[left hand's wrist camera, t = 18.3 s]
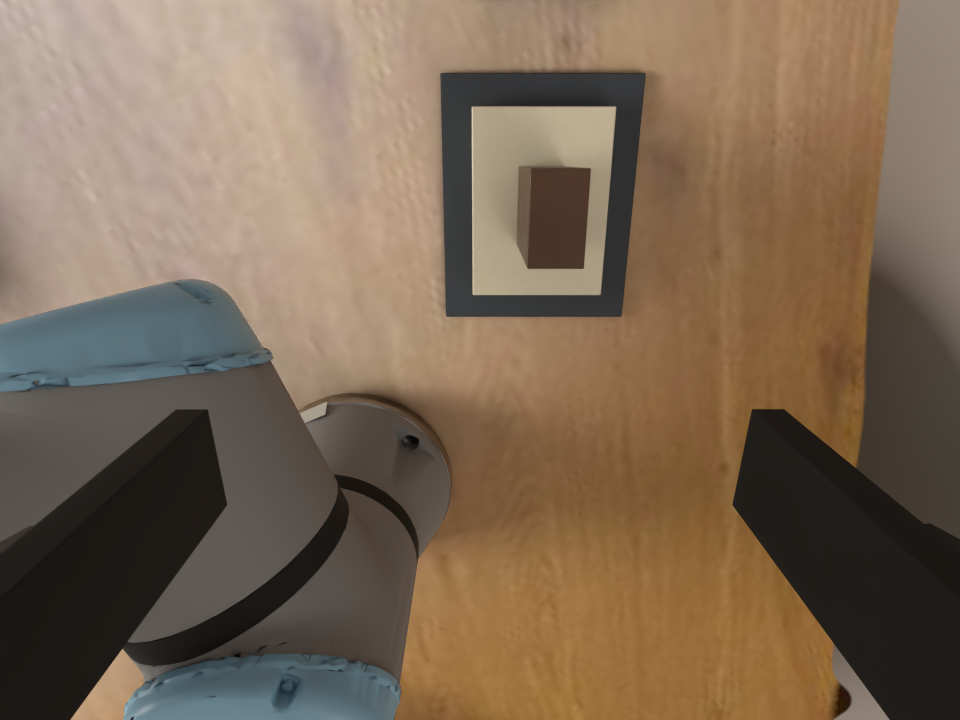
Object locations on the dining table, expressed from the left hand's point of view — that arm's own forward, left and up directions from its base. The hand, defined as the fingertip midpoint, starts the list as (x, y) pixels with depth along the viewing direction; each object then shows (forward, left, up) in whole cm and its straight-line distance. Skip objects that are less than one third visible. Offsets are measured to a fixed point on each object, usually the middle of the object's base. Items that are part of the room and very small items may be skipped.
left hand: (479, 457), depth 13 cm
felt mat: (+4, -4, -27) cm, 27 cm away
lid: (+4, -4, -26) cm, 27 cm away
